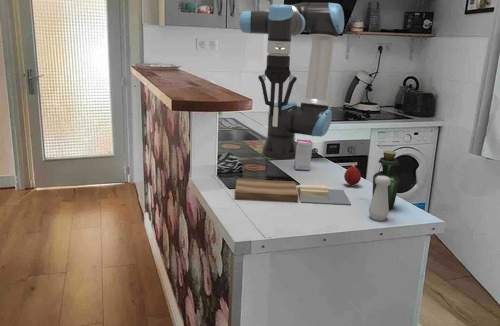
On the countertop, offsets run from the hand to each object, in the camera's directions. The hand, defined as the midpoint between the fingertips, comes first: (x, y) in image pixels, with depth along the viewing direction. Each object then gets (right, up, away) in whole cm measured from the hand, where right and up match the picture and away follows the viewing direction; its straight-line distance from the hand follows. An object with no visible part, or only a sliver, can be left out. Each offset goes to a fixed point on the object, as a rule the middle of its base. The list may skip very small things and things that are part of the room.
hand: (274, 125), depth 158 cm
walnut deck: (-3, -23, -3) cm, 23 cm away
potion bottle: (+34, -27, -10) cm, 44 cm away
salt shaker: (+30, -29, -20) cm, 46 cm away
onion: (+28, -21, +9) cm, 36 cm away
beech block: (+12, -23, -4) cm, 27 cm away
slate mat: (+16, -24, -3) cm, 29 cm away
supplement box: (+12, -15, +28) cm, 34 cm away
